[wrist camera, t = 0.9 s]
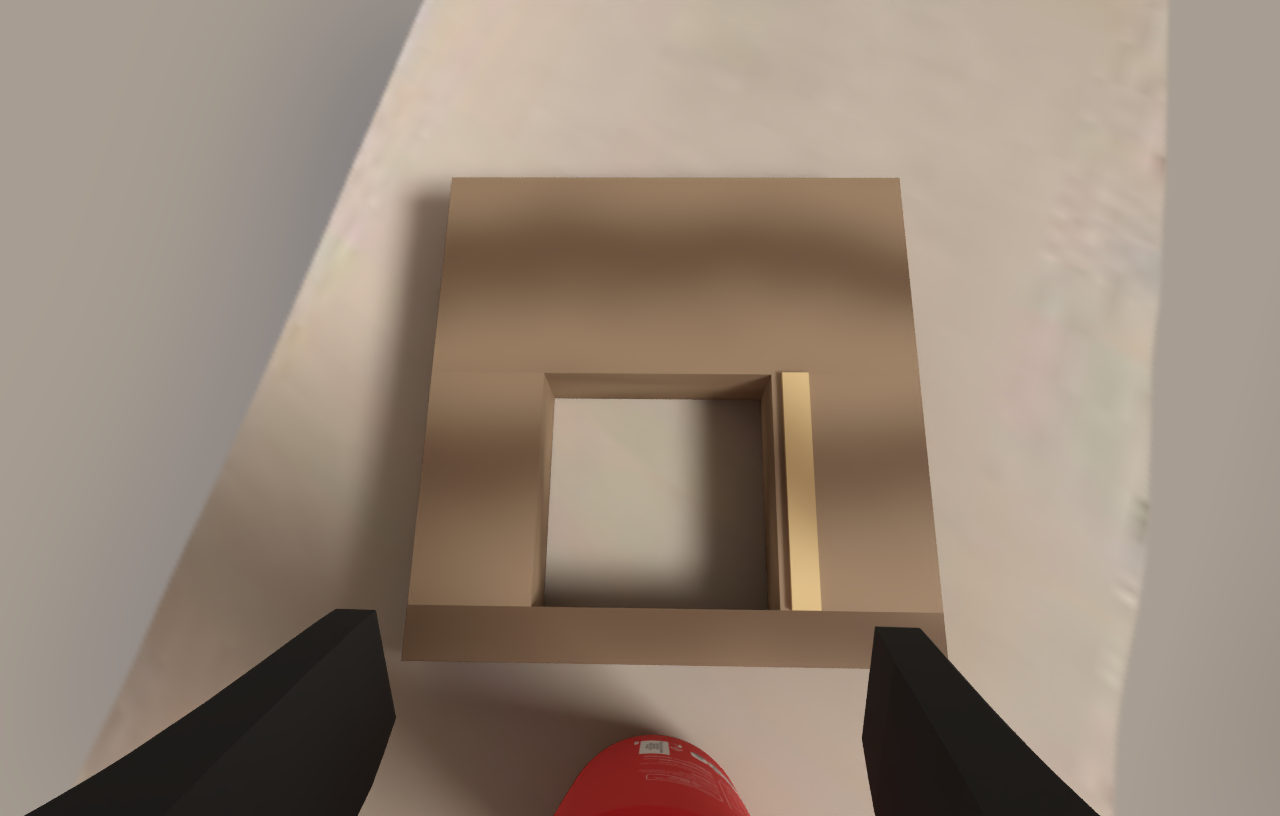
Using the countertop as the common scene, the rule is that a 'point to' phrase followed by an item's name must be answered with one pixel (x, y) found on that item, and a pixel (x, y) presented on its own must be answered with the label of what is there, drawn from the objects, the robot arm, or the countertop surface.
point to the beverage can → (652, 782)
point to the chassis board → (677, 369)
